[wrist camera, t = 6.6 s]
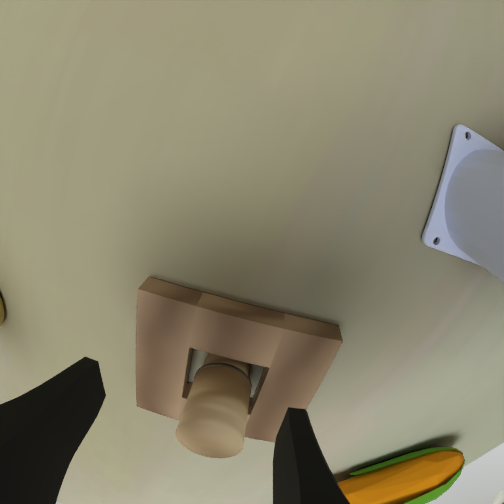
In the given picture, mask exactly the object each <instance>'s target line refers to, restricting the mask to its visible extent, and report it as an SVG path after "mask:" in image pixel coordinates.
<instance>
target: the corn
mask: <svg viewBox="0 0 504 504" xmlns="http://www.w3.org/2000/svg"><path fill="white" fill-rule="evenodd" d="M464 463H465V459H464V456H463V453H462V452H461V451H459V450H458V449H455V448H453V447H434V448H428V449H424V450H420V451H416V452H412V453H408V454H405V455H403V456H400V457H397V458H394V459H391V460H388V461H385V462H382V463H379V464H376V465H373V466H370V467H367V468H364V469H361V470H358V471H355V472H352V473H350V475H357V476H354V477H352V478H349V479H346V480H343V481H341V482H338V485H339V487H340V489H341V490H342V492H343V493H344V495H345V496H346V498H347V499H348V501H349V502H350V504H425V503H428V502H430V501H432V500H435V499H437V498H438V497H439V496H440V495H442V494H443V493H444V492H445V491H447V490H448V489H449V488H450V487H451V486H452V484H453V483H454V482H455V481H456V480H457V478H458V477H459V476H460V474H461V471H462V468H463V466H464ZM361 473H362V474H361ZM358 474H360V475H358Z"/></svg>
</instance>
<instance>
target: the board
mask: <svg viewBox="0 0 504 504" xmlns="http://www.w3.org/2000/svg"><path fill="white" fill-rule="evenodd" d="M342 342H343V340H342V337H341V333H340V329H339V326H338V325H334V324H329V323H325V322H320V321H316V320H311V319H307V318H303V317H298V316H294V315H290V314H286V313H281V312H277V311H273V310H269V309H265V308H261V307H257V306H253V305H249V304H245V303H241V302H237V301H234V300H230V299H226V298H222V297H219V296H215V295H211V294H208V293H204V292H200V291H197V290H193V289H190V288H186V287H183V286H179V285H176V284H172V283H169V282H165V281H162V280H159V279H155V278H152V277H148V278H147V280H146V281H145V282H144V283H143V284H142V285H141V286H140V287H139V288H138V300H137V322H136V400H137V406H138V407H140V408H143V409H146V410H149V411H152V412H155V413H158V414H160V415H164V416H167V417H170V418H173V419H176V420H179V421H180V418H181V415H182V412H183V409H184V407H185V404H186V401H187V398H188V395H189V392H190V389H191V386H192V383H189V382H188V376H189V370H190V364H191V358H192V352H193V348H194V349H197V350H200V351H204V352H208V353H211V354H215V355H219V356H223V357H226V358H230V359H234V360H238V361H242V362H246V363H251V364H255V365H259V366H264V367H265V368H264V371H263V373H262V376H261V378H260V381H259V384H258V386H257V389H256V391H255V394H254V396H253V399H252V398H250V400H249V407H248V415H247V422H246V429H245V436H244V437H248V438H253V439H258V440H264V441H270V442H275V440H276V436H277V433H278V431H279V429H280V426H281V424H282V421H283V419H284V416H285V414H286V411H287V409H288V407H291V408H300V409H305V410H306V409H307V407H308V405H309V403H310V402H311V400H312V398H313V396H314V395H315V393H316V391H317V389H318V388H319V386H320V384H321V382H322V380H323V379H324V377H325V375H326V373H327V371H328V369H329V367H330V365H331V364H332V362H333V360H334V358H335V356H336V354H337V352H338V350H339V348H340V346H341V344H342Z"/></svg>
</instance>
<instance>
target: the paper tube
mask: <svg viewBox="0 0 504 504" xmlns="http://www.w3.org/2000/svg"><path fill="white" fill-rule="evenodd" d="M3 320H4V307H3V302H2V299H1V297H0V326H1V324H2V323H3Z"/></svg>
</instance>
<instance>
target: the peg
mask: <svg viewBox="0 0 504 504" xmlns="http://www.w3.org/2000/svg"><path fill="white" fill-rule="evenodd" d="M248 376H249V365H248V363H246V362H242V361H238V360H234V359H230V358H226V357H223V356H219V355H215V354H211V353H210V354H209V355H208V356H207V357H206V359H205V362H204V365H203V366H202V367H201V368H199V369H198V370H197V372H196V374H195V377H194V381H193V384H192V386H191V389H190V392H189V395H188V398H187V401H186V404H185V407H184V409H183V412H182V415H181V418H180V421H179V424H178V427H177V430H176V438H177V440H178V441H179V442H180V443H181V444H182V445H183V446H184V447H185V448H187V449H188V450H190V451H192V452H194V453H196V454H199V455H202V456H206V457H212V458H227V457H232V456H235V455H237V454H238V453H240V452H241V451H242V449H243V443H244V436H245V429H246V422H247V415H248V407H249V400H250V393H251V388H252V384H251V380H250V378H249V377H248Z"/></svg>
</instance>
